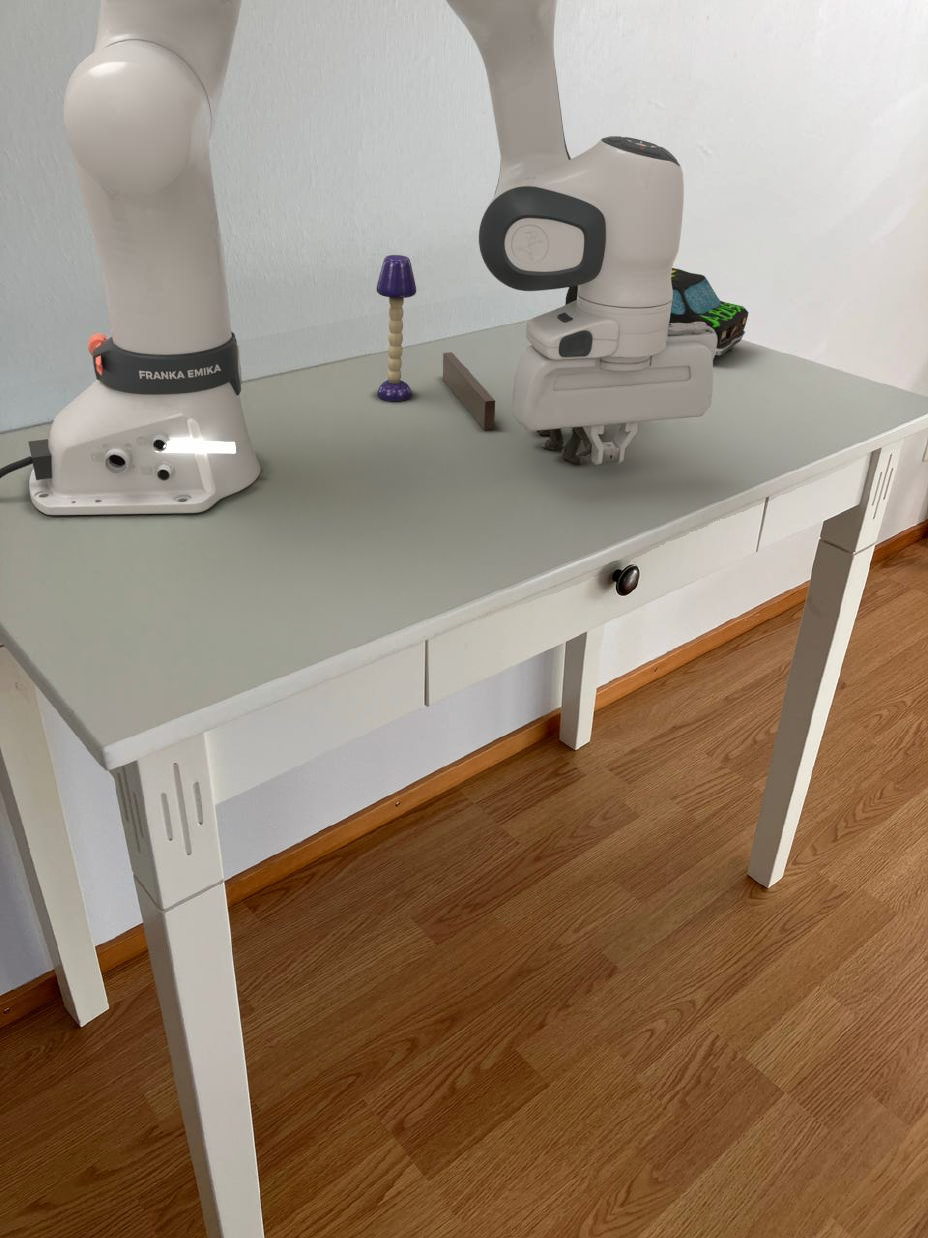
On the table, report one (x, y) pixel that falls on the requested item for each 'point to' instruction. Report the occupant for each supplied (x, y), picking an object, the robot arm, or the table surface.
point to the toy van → (700, 308)
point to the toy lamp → (395, 321)
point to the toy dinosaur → (568, 443)
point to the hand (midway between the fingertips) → (606, 461)
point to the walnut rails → (469, 391)
